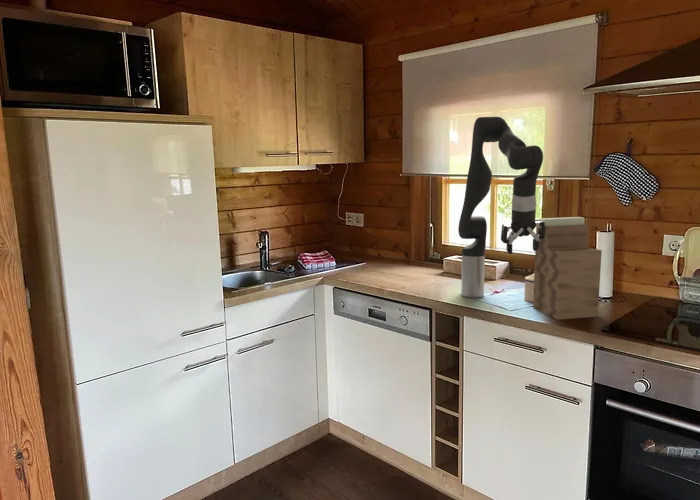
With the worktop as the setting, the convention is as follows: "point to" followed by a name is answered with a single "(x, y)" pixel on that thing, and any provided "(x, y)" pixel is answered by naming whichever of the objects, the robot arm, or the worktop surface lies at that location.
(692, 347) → the worktop surface
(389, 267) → the worktop surface
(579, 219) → the sage slat
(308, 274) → the worktop surface
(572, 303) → the brown wooden tall block
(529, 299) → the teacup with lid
